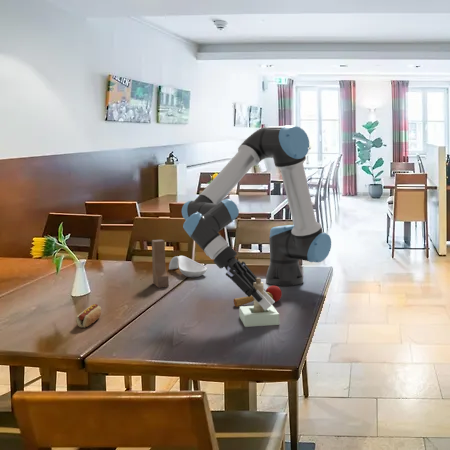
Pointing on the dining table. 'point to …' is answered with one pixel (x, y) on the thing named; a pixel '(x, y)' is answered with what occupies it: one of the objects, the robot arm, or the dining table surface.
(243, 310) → the peg hole block
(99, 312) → the food
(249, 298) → the kendama
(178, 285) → the dining table surface
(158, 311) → the dining table surface
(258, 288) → the beige bottle
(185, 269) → the spoon rest
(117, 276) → the dining table surface
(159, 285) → the wooden block
